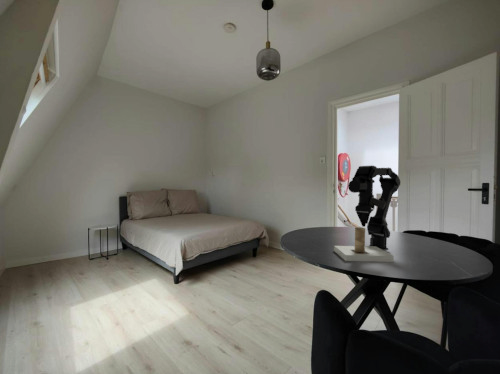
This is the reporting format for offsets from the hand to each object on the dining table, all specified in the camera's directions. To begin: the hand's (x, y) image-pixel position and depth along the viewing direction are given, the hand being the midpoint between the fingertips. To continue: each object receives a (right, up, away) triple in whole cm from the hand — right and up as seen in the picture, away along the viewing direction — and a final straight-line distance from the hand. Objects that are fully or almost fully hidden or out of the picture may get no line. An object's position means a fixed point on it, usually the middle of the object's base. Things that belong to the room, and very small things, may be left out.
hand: (365, 224), depth 109 cm
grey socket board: (-4, -13, -6) cm, 15 cm away
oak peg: (-6, -13, -7) cm, 16 cm away
